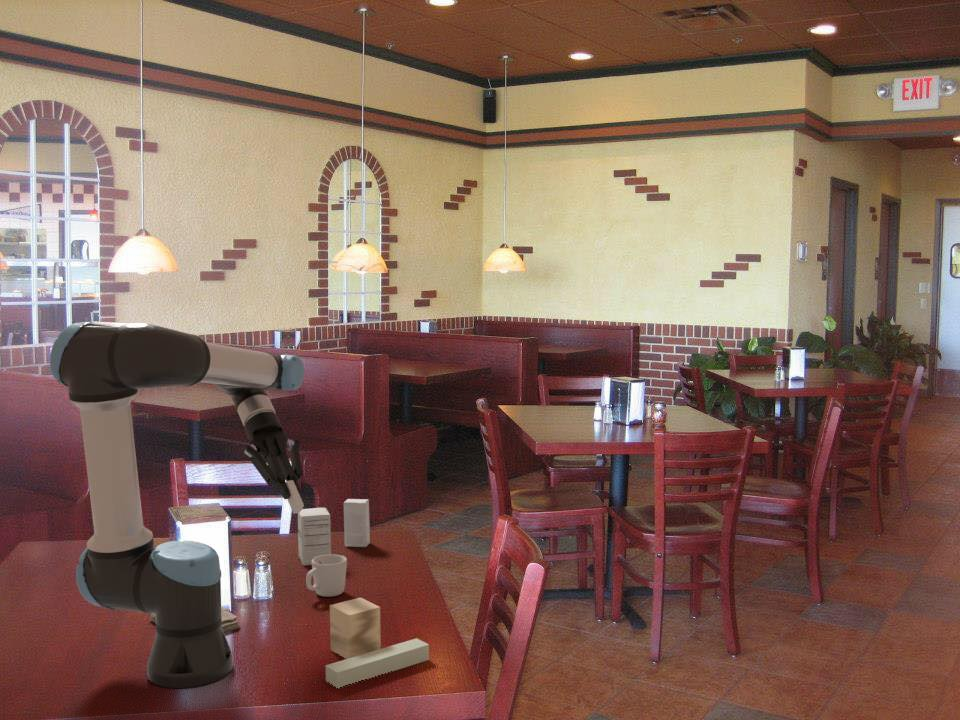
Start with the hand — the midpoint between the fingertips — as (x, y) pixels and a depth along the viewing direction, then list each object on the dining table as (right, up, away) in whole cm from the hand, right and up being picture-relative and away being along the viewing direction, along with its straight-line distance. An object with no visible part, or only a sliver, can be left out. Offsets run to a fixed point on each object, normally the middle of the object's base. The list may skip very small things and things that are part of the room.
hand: (298, 509), depth 206 cm
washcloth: (-21, -24, -1) cm, 32 cm away
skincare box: (+5, -18, +55) cm, 58 cm away
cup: (+3, -22, +16) cm, 28 cm away
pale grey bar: (+19, -26, -24) cm, 40 cm away
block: (+14, -25, -15) cm, 32 cm away
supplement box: (-4, -19, +42) cm, 46 cm away
